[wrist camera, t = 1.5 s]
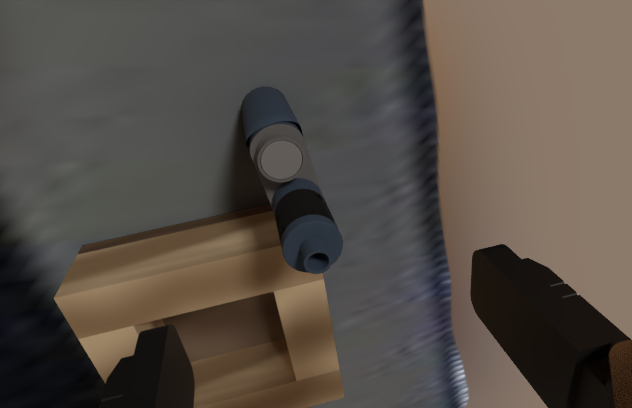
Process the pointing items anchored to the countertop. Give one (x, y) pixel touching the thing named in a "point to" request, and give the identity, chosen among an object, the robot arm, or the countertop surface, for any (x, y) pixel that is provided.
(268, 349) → the block
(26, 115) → the countertop surface
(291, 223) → the vaping device
